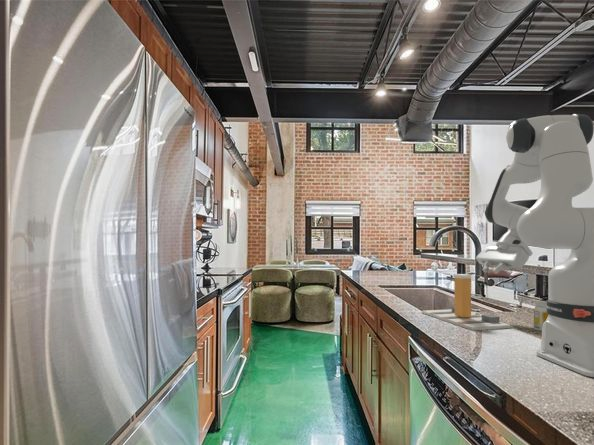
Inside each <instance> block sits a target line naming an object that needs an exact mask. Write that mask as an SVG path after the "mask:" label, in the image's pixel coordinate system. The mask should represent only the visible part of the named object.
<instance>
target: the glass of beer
mask: <svg viewBox="0 0 594 445" xmlns="http://www.w3.org/2000/svg"><path fill="white" fill-rule="evenodd" d="M453 277H454V278H453V279H454V306H455V316H459V317H462V318H463V317H471V314H472V274H465V273H454V274H453Z"/></svg>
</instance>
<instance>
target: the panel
mask: <svg viewBox="0 0 594 445" xmlns="http://www.w3.org/2000/svg"><path fill="white" fill-rule="evenodd" d="M423 313H424V315H426V314H427V316H429V315H430V317H432V316H433V318H436V319H438V320H441V321H444V322H447V323H449V324H453V325H456V326H458V327H461V328H465V329H467V330H470V331H485V330H501V329H511V328H512V325H511V324H509V323H505V322H501V321H500V316H498V315H494V314H481V315H479V314H473V313H471V317H463V318H462V317H459V316H455V305H454V306H451V307H450V309H449V308H448V309H430V310H429V309H427V310H421V314H423Z"/></svg>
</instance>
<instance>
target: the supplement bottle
mask: <svg viewBox="0 0 594 445" xmlns="http://www.w3.org/2000/svg"><path fill="white" fill-rule="evenodd" d="M535 304H536V305H535V307H534V308H533V327H534V330H535V331H538V332H542V327H543V323H544V322H545V321H546V319H547V317H548V313H547V308H546V304H547V300H536V302H535Z"/></svg>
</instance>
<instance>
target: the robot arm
mask: <svg viewBox="0 0 594 445" xmlns="http://www.w3.org/2000/svg"><path fill="white" fill-rule="evenodd" d="M506 131H507V132H506V136H505V137H506V143H507V147H508V149H509V150H510V151H512V152H513V153H515V154H514V158H513V161H512V163H511V164H509V165H506V166H505V167H504V168H503V169H502V170H501V172H500V174H499V176H498V178H497V181H496V184H495V186H494V189H493V191H492V192H493V193H492V195H491V197H490V200H489V202H488V204H487V205H486V208H485V210H484V216H485V218H486V220H487V222H488V223H491V224H495V225H498V226H501V227H505V228H507V231H506V232H505V233H504V234H503V235H502V236H500V238H499V239H498V241H497V242H496V244H495V246H494V245H491V246H488V247H487V246H486V247H485V248H484V249H482V250H481V251H480V252H479V253H478V254H477V255H476V256H475V258H476V259H475V260H476V262H478V264H480V265H484V266H483V268H482V269H481V270H482V272H483V273H489V272H490V268H491V267H492V266H493V268H492V269H491V272H492V273H493V274H495V275H497V274H499V273H500V272H501V271H502V270H504V269H506V268H514V269H515V268H516V269H520V268H522V267H524V266H525V265H526V264H527V262H528V260H529V259H530V257H531V256H532V255H533V251H532V250H531V249H530V247H529V246H531V247H535V248H541V249H544V250H545V249H546V250H547V249H549V250H550V249H552V250H554V249H555V250H564V249H565V250H568V249H569V250H570V254H569V256H568V258H567V259H566V260H565V261H563V262H561V263H558V264H557V265H555V266H553V267H552V268H551V269H550V271H549V272H548V274H547V283H548V284H547V286H548V287H547V288H548V289H547V290H548V292H547V293H548V294H547V295H548V296H547V297H548V299H546V301H547V304H546V308H547V313H548V317H547V319H546V321H545V322H544V323H543V327H542V331H541V341H540V349H538V350H536V354H535V355H536V356H538V357H539V358H542V359H545V360H547V361H550V362H552V363H554V364H557V365H559V366H561V367H564V368H566V369H569V370H571V371H574V372H576V373H578V374H581V375H583V376H586V377H591V378H594V207H576V206H575V207H573V202H572V201H573V198H575V197H577V196H579V195H581V194H583V193H584V192H586V191H587V190H588V189H590V187H591V186H592V183H593V180H594V178H593V172H592V165H591V159H590V151H589V148H588V144H590V143H591V141H592V139H593V137H594V122H593V120H592V119H591V117H590V116H589V115H587V114H581V113H580V114H579V113H573V114H554V115H550V114H548V115H540V116H535V117H534V116H533V117H529V118H526V117H523V118H519V119H516V120H514V121H513V122H511V123H510V125H509V126H508V129H507V130H506ZM538 181H540V192H539V194H538V195H539V196H538V197H537V199H536V201H535V203H534V204H533V205H532V206H531V207H530V208H528V207H526V206H523V205H519V204H516V203H513V202H510V201H508V200H507V199H506V197H507V194H508V193H509V189H510V187H511V185H517V184H519V185H520V184H521V185H522V184H531V183H535V182H538Z"/></svg>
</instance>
